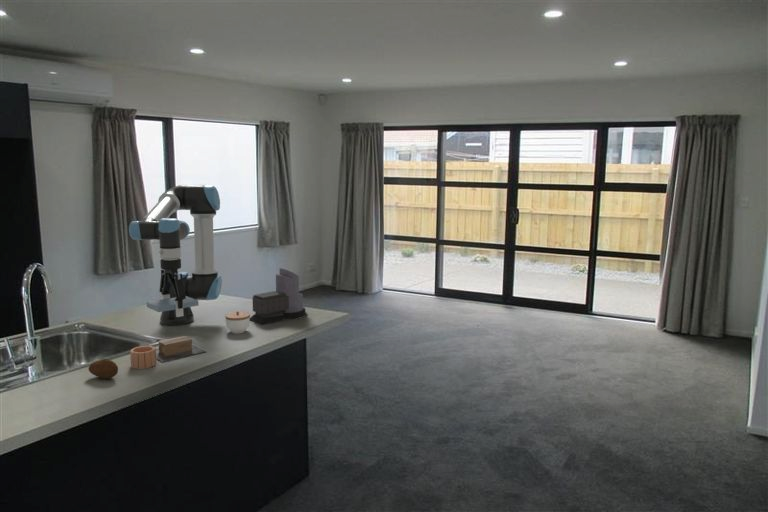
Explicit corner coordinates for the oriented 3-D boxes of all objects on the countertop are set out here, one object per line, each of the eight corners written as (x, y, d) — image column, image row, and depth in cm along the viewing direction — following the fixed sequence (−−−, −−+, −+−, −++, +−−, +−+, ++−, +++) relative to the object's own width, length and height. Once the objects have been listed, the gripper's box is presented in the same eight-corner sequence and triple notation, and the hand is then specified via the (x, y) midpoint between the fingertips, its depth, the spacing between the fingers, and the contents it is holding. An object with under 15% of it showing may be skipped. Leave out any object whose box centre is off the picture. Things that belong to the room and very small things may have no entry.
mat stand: (145, 352, 227) (144, 340, 226) (188, 342, 239) (187, 331, 238) (161, 362, 215) (161, 349, 215) (206, 352, 228) (205, 340, 227)
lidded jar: (243, 335, 250) (243, 315, 249) (221, 334, 252) (220, 313, 251) (254, 329, 260) (253, 309, 259) (232, 327, 262) (231, 307, 261)
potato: (97, 373, 204) (96, 354, 203) (125, 376, 201) (124, 357, 200) (84, 379, 197) (82, 360, 196) (112, 383, 195) (111, 363, 194)
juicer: (294, 308, 298) (293, 263, 294) (314, 314, 287) (313, 267, 283) (245, 319, 276) (243, 270, 272) (264, 326, 265) (263, 274, 261)
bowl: (127, 364, 213) (126, 349, 212) (150, 359, 219) (149, 344, 218) (136, 370, 207) (135, 354, 206) (159, 365, 213) (159, 349, 212)
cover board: (146, 306, 222) (146, 301, 222) (186, 300, 233) (185, 295, 233) (158, 312, 214) (158, 307, 214) (198, 305, 225) (198, 300, 225)
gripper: (148, 255, 226) (151, 309, 230) (174, 263, 210) (177, 321, 213) (167, 254, 232) (169, 306, 235) (193, 261, 215) (195, 317, 218)
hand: (173, 313), depth 224 cm, fingers closed on cover board, 11 cm apart
